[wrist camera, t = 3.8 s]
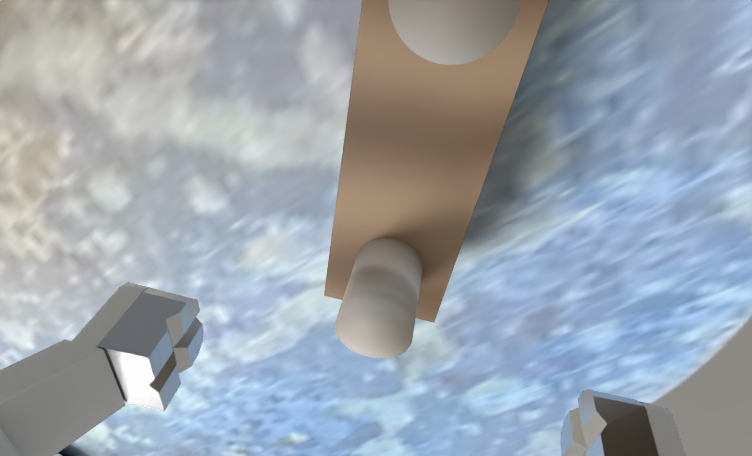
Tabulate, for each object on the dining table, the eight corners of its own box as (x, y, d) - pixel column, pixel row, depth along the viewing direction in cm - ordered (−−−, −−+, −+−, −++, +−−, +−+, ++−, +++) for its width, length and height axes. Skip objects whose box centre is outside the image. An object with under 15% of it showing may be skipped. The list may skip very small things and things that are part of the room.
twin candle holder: (441, 255, 27) (426, 393, 20) (346, 233, 27) (299, 362, 20) (570, -141, 16) (639, -142, 9) (409, -173, 16) (352, -199, 9)
